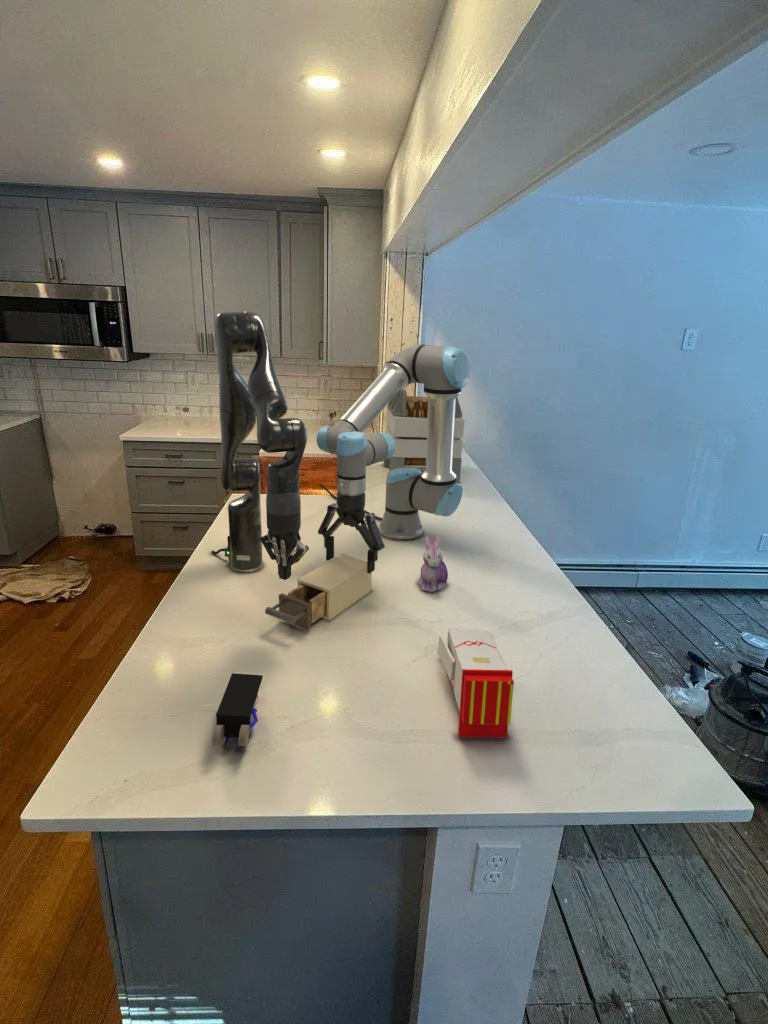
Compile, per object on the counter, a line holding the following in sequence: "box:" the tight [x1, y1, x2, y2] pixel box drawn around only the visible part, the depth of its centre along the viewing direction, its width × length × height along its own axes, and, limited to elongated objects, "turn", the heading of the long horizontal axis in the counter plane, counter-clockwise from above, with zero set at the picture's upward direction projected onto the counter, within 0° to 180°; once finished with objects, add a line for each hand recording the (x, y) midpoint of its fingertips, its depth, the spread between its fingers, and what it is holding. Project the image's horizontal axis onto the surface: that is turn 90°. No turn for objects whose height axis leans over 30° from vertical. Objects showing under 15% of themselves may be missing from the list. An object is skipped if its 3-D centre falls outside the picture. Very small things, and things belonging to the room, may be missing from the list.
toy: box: [437, 628, 515, 738], centre depth 117 cm, size 12×13×30 cm
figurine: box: [418, 535, 449, 593], centre depth 161 cm, size 9×10×15 cm
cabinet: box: [296, 553, 373, 621], centre depth 152 cm, size 20×10×9 cm, turn 149°
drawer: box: [264, 584, 327, 631], centre depth 143 cm, size 24×9×7 cm, turn 149°
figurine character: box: [211, 672, 264, 751], centre depth 104 cm, size 7×8×15 cm
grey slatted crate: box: [383, 389, 465, 484], centre depth 268 cm, size 34×33×41 cm
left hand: (284, 578), depth 132 cm, fingers closed
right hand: (350, 565), depth 156 cm, fingers open, 13 cm apart
